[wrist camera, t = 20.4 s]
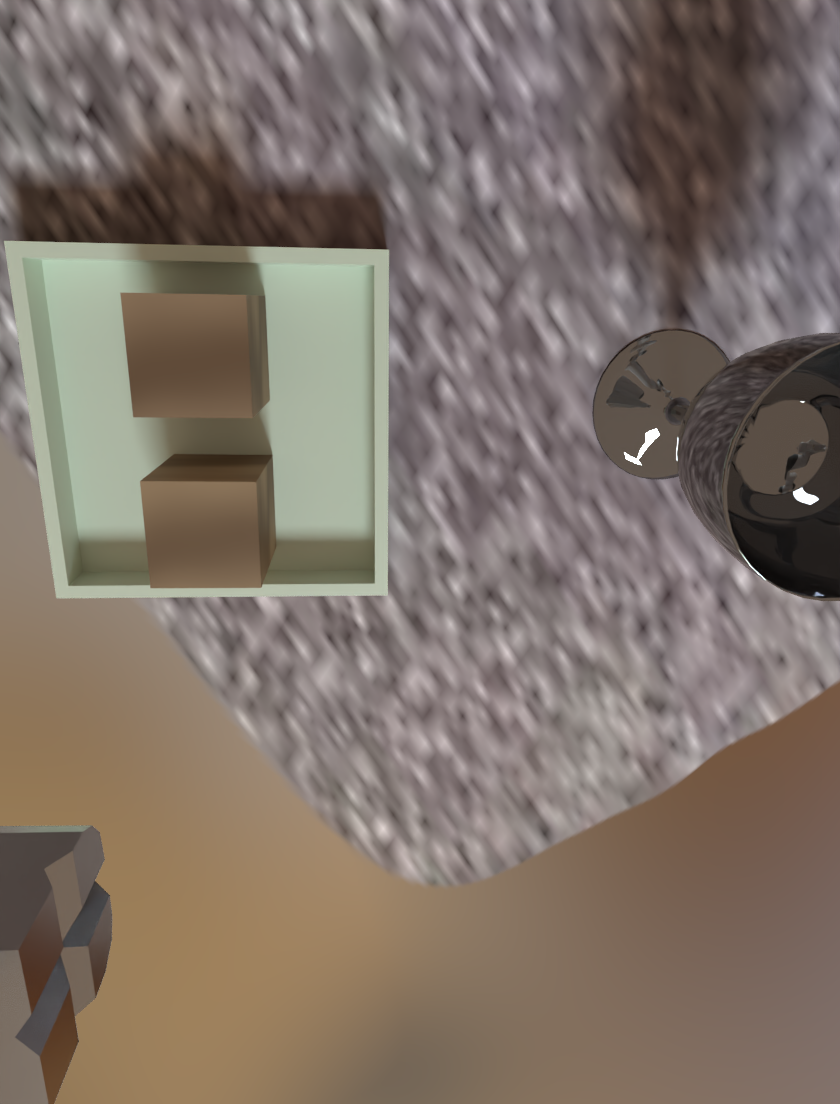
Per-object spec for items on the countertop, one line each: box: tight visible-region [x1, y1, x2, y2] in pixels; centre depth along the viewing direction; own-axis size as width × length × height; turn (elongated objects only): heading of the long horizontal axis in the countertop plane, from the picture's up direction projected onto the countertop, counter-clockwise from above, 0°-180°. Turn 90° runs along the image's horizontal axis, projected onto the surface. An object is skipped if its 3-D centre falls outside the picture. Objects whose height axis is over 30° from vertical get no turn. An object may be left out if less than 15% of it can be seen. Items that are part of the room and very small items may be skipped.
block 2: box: [140, 454, 276, 588], centre depth 33 cm, size 4×4×6 cm
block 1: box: [120, 293, 270, 418], centre depth 31 cm, size 4×4×6 cm
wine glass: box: [593, 330, 840, 601], centre depth 29 cm, size 8×8×15 cm
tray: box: [4, 241, 389, 598], centre depth 34 cm, size 15×15×2 cm
